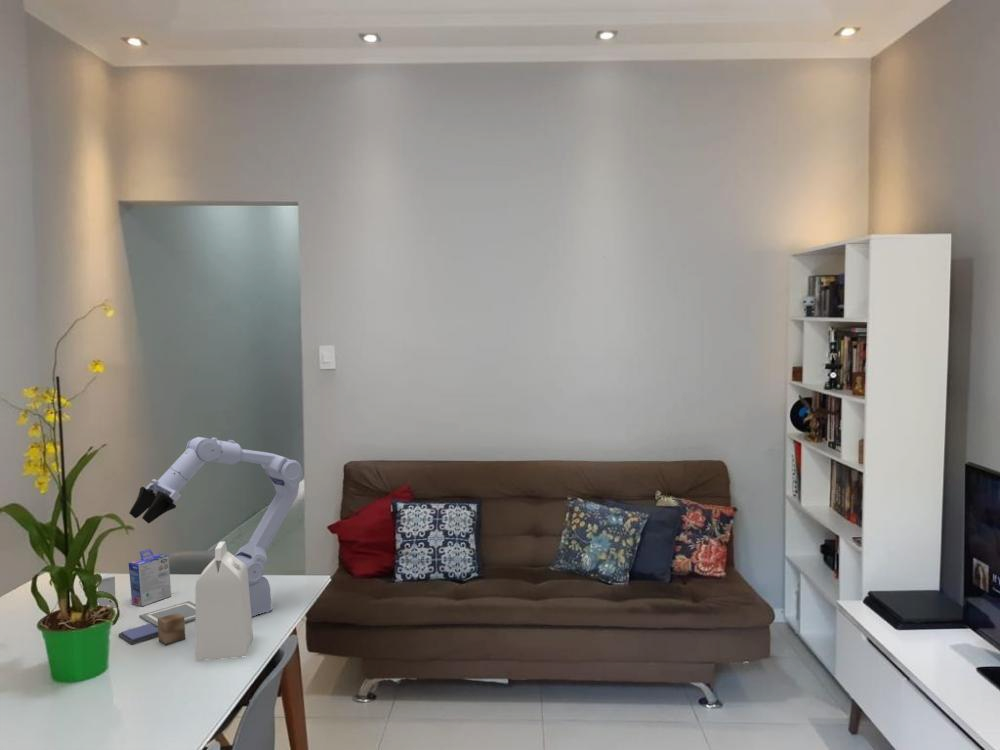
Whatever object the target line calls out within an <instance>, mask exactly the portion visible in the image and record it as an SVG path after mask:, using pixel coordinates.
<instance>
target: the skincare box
mask: <svg viewBox="0 0 1000 750" xmlns="http://www.w3.org/2000/svg"><path fill="white" fill-rule="evenodd" d="M99 574H100V573H99ZM100 575H101V576H102V582H101V584H100V585H99V586H98V591H105V592H108V593H110V594H112V595H113V596H114V597H115V598H116V576H115V574H114V573H113V572H107V573H102V574H100ZM98 603H99V605H104V606H107V605H110V606H113V607H114V606H115V604H114V603H113V602H112V601H111V600H108V599H104V598H99V599H98Z"/></svg>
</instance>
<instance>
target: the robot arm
mask: <svg viewBox="0 0 1000 750" xmlns="http://www.w3.org/2000/svg"><path fill="white" fill-rule="evenodd" d="M239 461H242V462H247V463H253V464H256V465H257V464H258V465H259V464H260V465H261V468H262V469H264V471H265V474H266V475H267V478H268V479H269V480H270V481H271V483H272V484H273V486H274V487H273V488H274V490H275V495H274V497H273V499H272V500H271V502H270V504H269V506H268V508H267V509H266V511H265V513H264V514H263V516H262V518H261V520H260V521H259V522H258V525H257V527H256V528H255V530H254V532H253V534H252V535H251V537H250V539H249V540H248V542H247V543H246V544H245V545H243V546H241V547H240V548H239V549H238V551H237V552H236V553H235V554H233V556H235V557H236V558H237V559H239V560H240V561H242V562H243V563H244V564H245V565H246V567H247V570H248V581H249V593H250V606H251V618H252V617H253V616H254V617H257V616H259V615H258V614H260V615H262V614H261V613H263V614H265V613H264V612H266V613H268V612H267V611H269V612H271V611H270V610H272V609H273V608H272V601H271V600H272V599H271V595H272V594H271V585H270V582H269V580H268V578H266V577H265V576H264V572H265V568H266V564H267V563H268V557H267V551H268V549H269V547H270V546H271V543H272V542H273V540H274V538H275V537H276V535H277V534H278V533H277V532H278V531H279V529H280V527H281V526H282V524H283V522H284V520H285V519H286V517H287V515H288V513H289V511H290V510H291V509H292V506H293V505H294V503H295V501H296V500H297V497H298V494H299V489H300V482H301V480H302V478H303V476H304V473H303V472H304V471H303V469H302V468H303V467H302V465H301V463H299V461H297V460H295V459H289V458H288V457H285V456H282V455H278V454H276V453H272V452H266V451H259V450H253V449H252V450H251V449H244V448H242V447H241V445H240V444H239V443H237V442H236V441H235V440H232V439H228V440H227V441H225V440H221V439H220V440H219V439H218V438H217V437H211V438H208V437H202V436H197V437H194V438H192V439H190V440H188V442H187V444H186V448H185V450H184V452H183V453H182V454H181V455H180V456H179V457H178V458H177V459H176V460H175V461H174V462H173V463H172V465H171V466H170V467H169V468H168V469H167V470H166V471H165V472H164V473H163V474H162V475H161V477H160V478H158V479H155V478H153V479H151V482H150V483H149V484H148V485H147V486H146V487H144V486H141V487H140V488H139V491H138V495H137V497H136V500H135V502H134V504H133V505H132V507H131V509H130V511H129V512H128V514H129V515H130V516H131V517H133V518H134V519H138V518H139V517H140V516H141V515H142V520H143V521H145V522H146V524H150V523H152V522H153V521H155V520H156V519H157V518H159V517H161V516H162V515H164V514H165V513H167V512H169V511H171V510H174V509H175V508H176V507H177V506H176V504H175V503H174V502H177V501H178V500H179V499H180V498H181V497H182V495H181V494H180V491H181V490H182V489H183V488H184V487H185V486H186V485H187V483H188V482H189V481H190V480H191V479H192V478H193V477H194V475H196V473H198V471H199V470H200V469H201V468H202V467H203V465H204V464H205V463H206V462H207V463H209V462H214V463H220V464H226V465H235V464H237V463H239ZM272 611H273V610H272ZM256 615H257V616H256Z"/></svg>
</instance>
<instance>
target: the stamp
mask: <svg viewBox="0 0 1000 750" xmlns="http://www.w3.org/2000/svg"><path fill="white" fill-rule="evenodd" d="M157 629H158V635H159V637H158V643H161V644H162V645H163V646H165V647H167V646H170V645H174V644H176V643H180V642H182V641H186V627H185V622H184V616H182V615H180V614H178V613H175V614H171V615H168V616H165V617H161V618H158V628H157Z"/></svg>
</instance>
